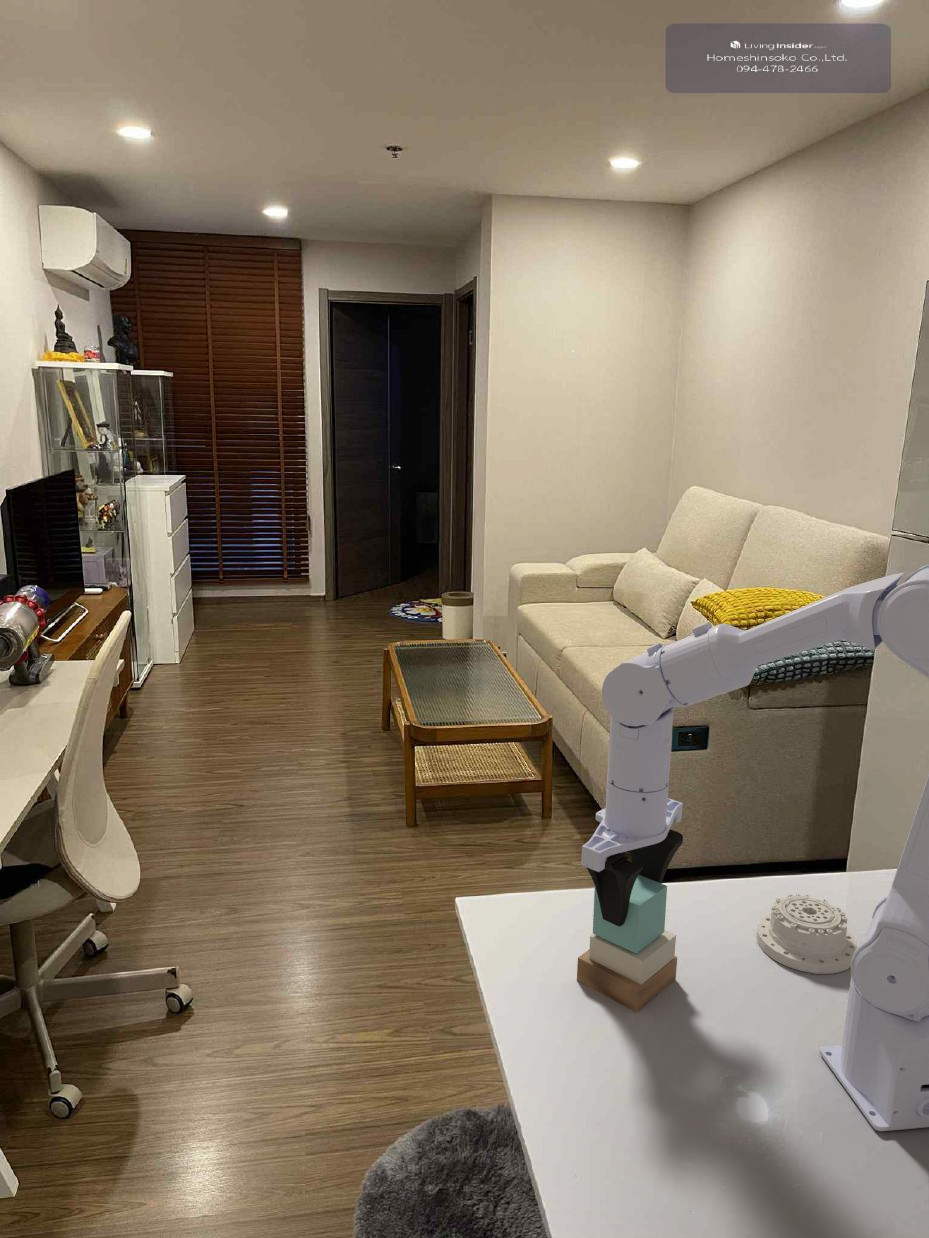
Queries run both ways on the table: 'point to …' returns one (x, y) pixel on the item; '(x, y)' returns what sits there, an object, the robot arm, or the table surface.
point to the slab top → (634, 956)
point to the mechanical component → (807, 935)
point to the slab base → (624, 982)
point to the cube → (636, 917)
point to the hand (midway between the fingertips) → (629, 909)
